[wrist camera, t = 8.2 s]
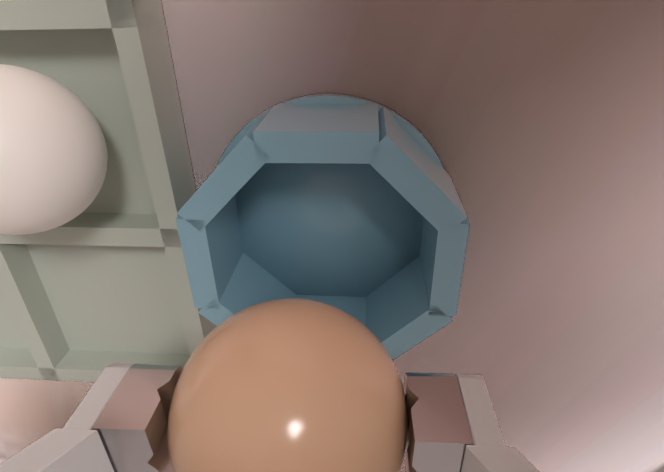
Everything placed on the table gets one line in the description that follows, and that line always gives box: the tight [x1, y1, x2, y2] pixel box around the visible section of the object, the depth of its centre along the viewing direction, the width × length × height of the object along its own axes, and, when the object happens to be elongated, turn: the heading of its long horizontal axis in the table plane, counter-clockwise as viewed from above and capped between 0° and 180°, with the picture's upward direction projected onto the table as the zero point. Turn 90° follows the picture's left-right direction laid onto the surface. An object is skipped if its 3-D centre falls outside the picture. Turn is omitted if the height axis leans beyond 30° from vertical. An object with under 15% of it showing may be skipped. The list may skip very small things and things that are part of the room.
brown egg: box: [168, 298, 408, 472], centre depth 9 cm, size 5×5×5 cm
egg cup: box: [176, 93, 470, 361], centre depth 14 cm, size 8×8×4 cm
